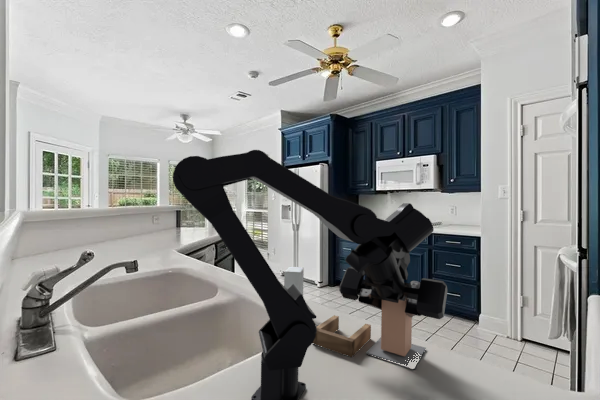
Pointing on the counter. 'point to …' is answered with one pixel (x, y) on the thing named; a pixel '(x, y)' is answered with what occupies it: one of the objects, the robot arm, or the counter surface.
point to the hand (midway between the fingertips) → (398, 312)
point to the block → (395, 328)
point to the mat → (380, 353)
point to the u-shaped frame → (341, 337)
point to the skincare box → (294, 278)
